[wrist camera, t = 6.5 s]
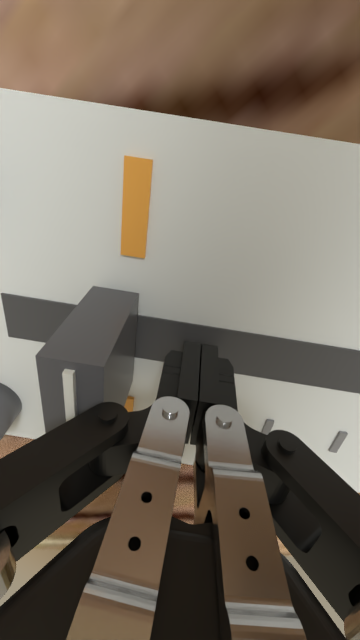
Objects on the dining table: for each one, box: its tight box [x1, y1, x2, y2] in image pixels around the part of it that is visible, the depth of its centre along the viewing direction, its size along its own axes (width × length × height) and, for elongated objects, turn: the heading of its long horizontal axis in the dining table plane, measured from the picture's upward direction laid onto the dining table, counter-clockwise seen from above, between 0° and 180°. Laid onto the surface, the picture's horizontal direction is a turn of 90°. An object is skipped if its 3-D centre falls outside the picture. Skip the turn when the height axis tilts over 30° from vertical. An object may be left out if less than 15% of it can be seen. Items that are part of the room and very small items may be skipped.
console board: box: [0, 88, 360, 493], centre depth 15 cm, size 18×28×4 cm, turn 82°
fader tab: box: [35, 286, 139, 433], centre depth 12 cm, size 5×2×5 cm, turn 172°
